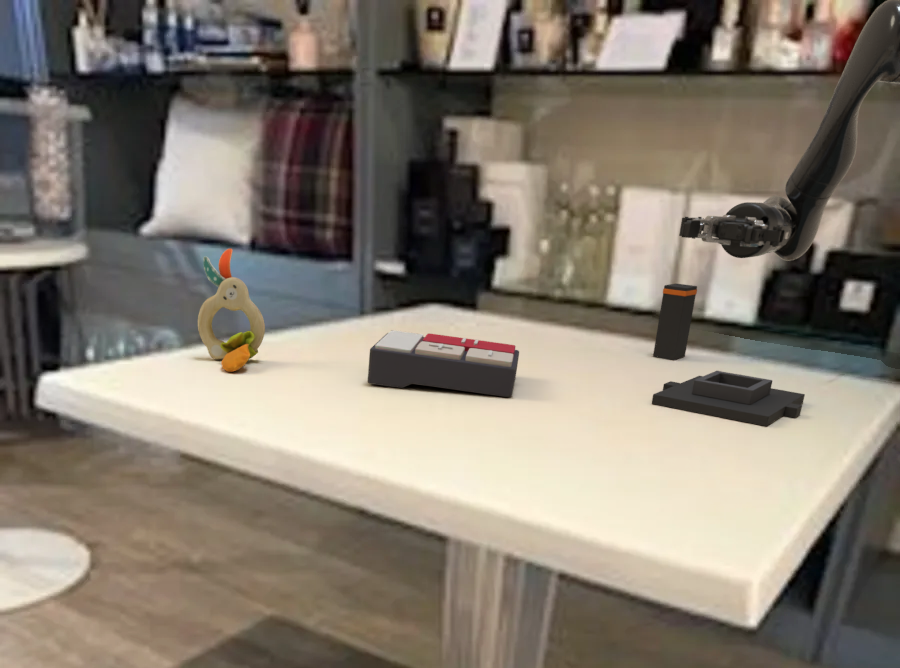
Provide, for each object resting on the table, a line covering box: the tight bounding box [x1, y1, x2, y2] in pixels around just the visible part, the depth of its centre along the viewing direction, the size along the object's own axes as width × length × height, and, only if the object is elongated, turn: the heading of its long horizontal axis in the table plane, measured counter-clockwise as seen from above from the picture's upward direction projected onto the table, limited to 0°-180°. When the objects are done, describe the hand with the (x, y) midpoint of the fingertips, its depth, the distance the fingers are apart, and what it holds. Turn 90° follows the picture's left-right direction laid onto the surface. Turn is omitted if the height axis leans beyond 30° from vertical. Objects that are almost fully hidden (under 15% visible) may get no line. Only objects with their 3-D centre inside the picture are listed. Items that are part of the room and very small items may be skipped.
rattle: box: [197, 248, 266, 373], centre depth 93 cm, size 8×8×12 cm
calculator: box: [367, 329, 520, 398], centre depth 94 cm, size 11×4×15 cm
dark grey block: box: [652, 283, 698, 361], centre depth 115 cm, size 4×3×9 cm
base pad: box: [651, 370, 806, 427], centre depth 93 cm, size 14×14×2 cm
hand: (717, 232), depth 118 cm, fingers open, 8 cm apart
